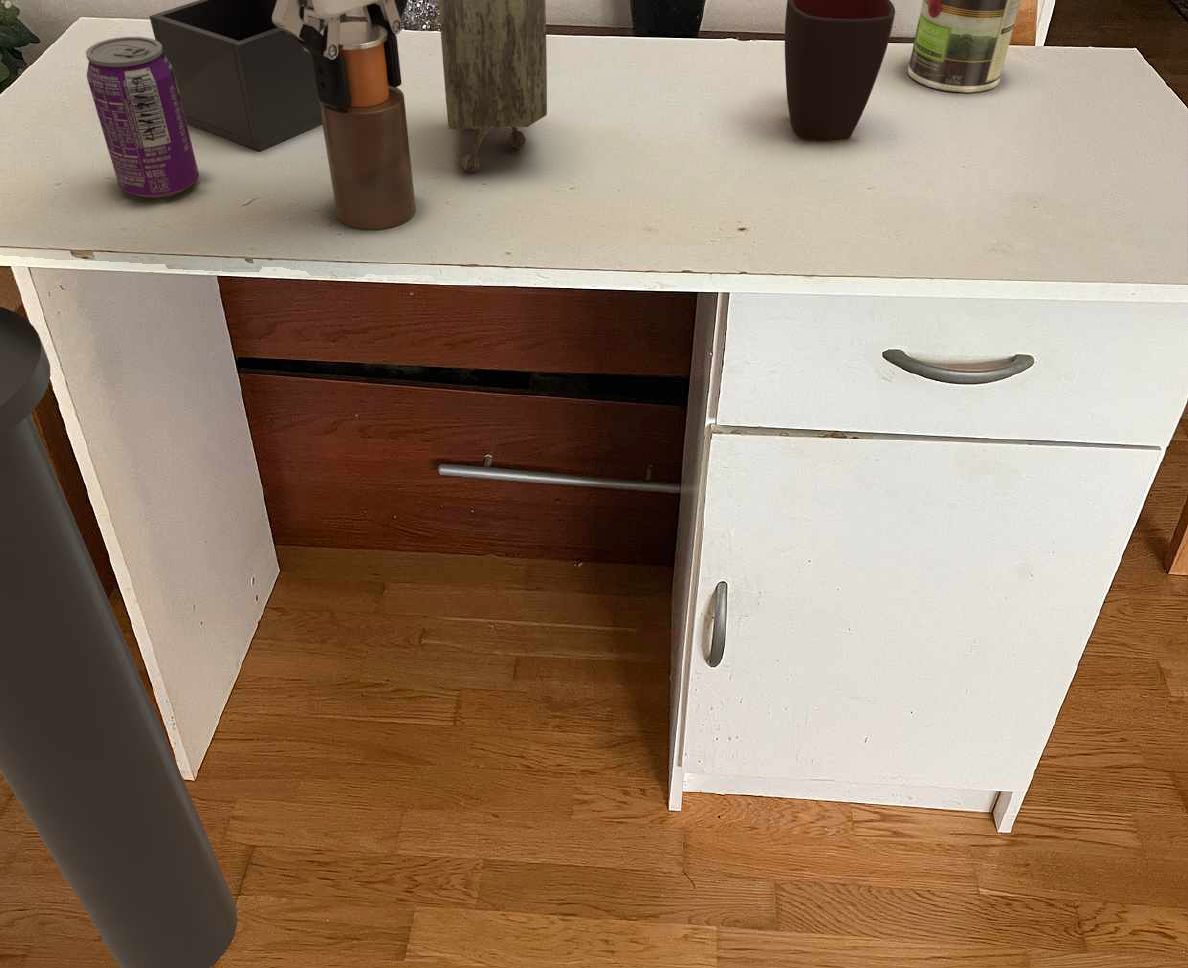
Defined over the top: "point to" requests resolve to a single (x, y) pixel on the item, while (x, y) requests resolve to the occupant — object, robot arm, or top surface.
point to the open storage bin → (240, 71)
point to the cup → (833, 62)
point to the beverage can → (141, 116)
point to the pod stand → (370, 163)
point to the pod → (364, 62)
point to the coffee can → (962, 43)
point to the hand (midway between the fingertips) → (360, 91)
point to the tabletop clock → (493, 67)
